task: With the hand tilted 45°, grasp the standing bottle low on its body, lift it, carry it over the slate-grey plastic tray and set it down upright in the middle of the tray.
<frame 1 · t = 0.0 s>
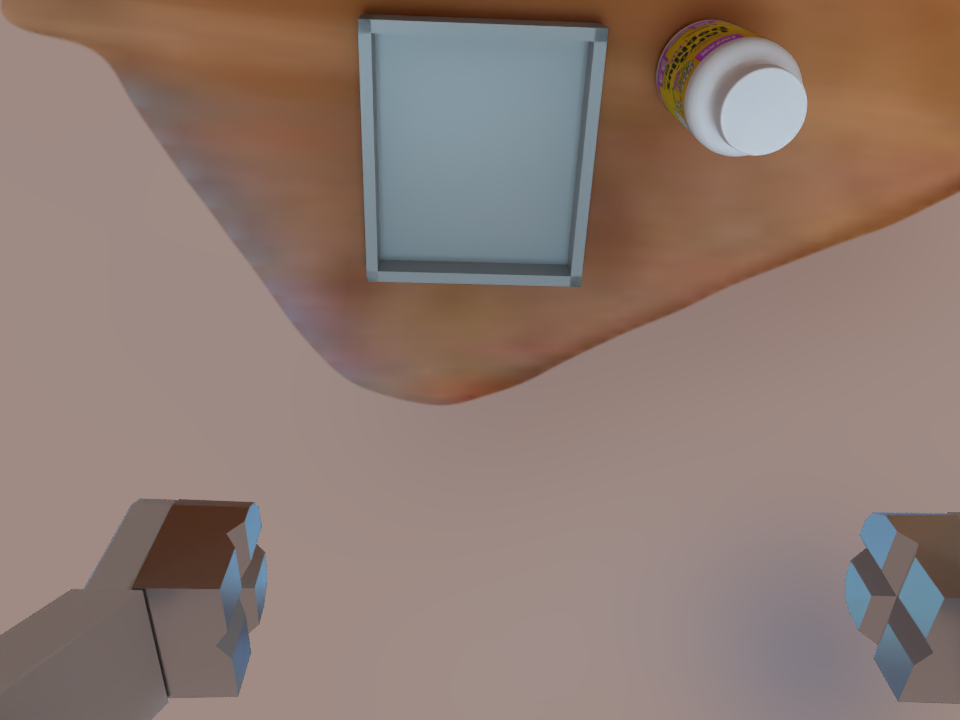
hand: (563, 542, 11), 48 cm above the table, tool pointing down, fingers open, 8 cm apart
supplement bottle: (701, 70, 54), on the table
tray: (477, 152, 56), on the table
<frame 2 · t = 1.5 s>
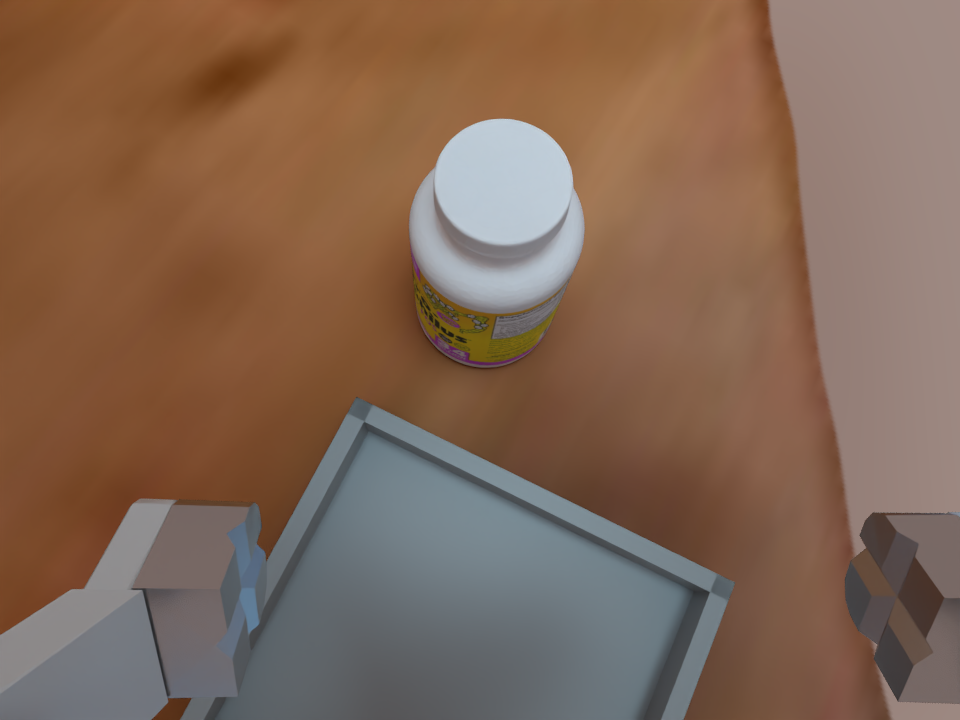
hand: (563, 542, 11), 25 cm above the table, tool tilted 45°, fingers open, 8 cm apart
supplement bottle: (484, 307, 39), on the table
tray: (458, 658, 34), on the table
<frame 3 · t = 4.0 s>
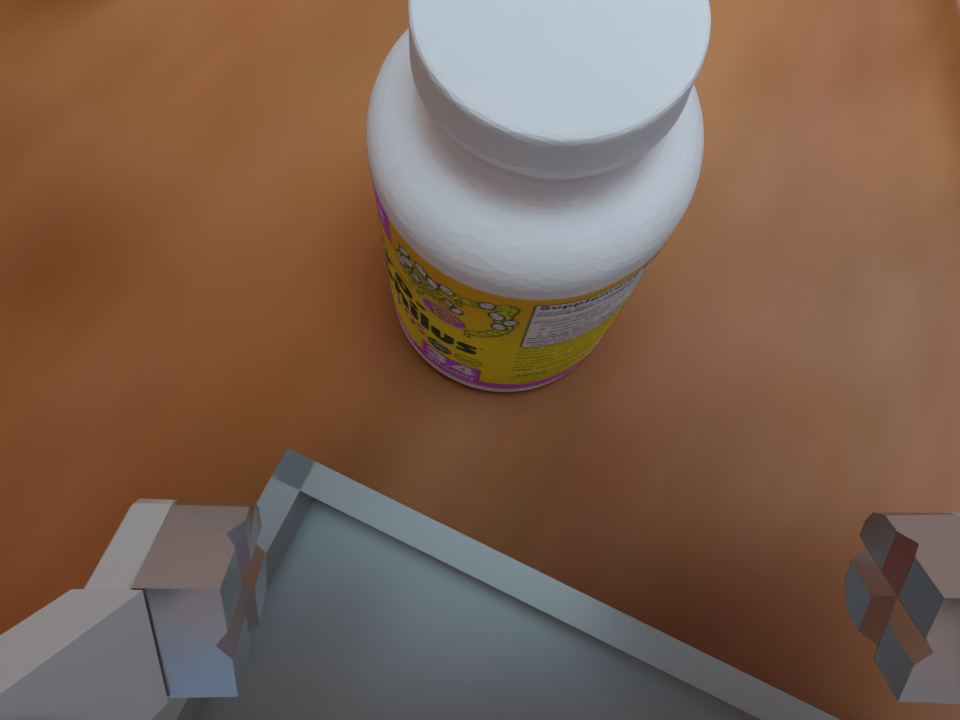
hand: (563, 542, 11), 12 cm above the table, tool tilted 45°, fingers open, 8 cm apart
supplement bottle: (501, 296, 25), on the table
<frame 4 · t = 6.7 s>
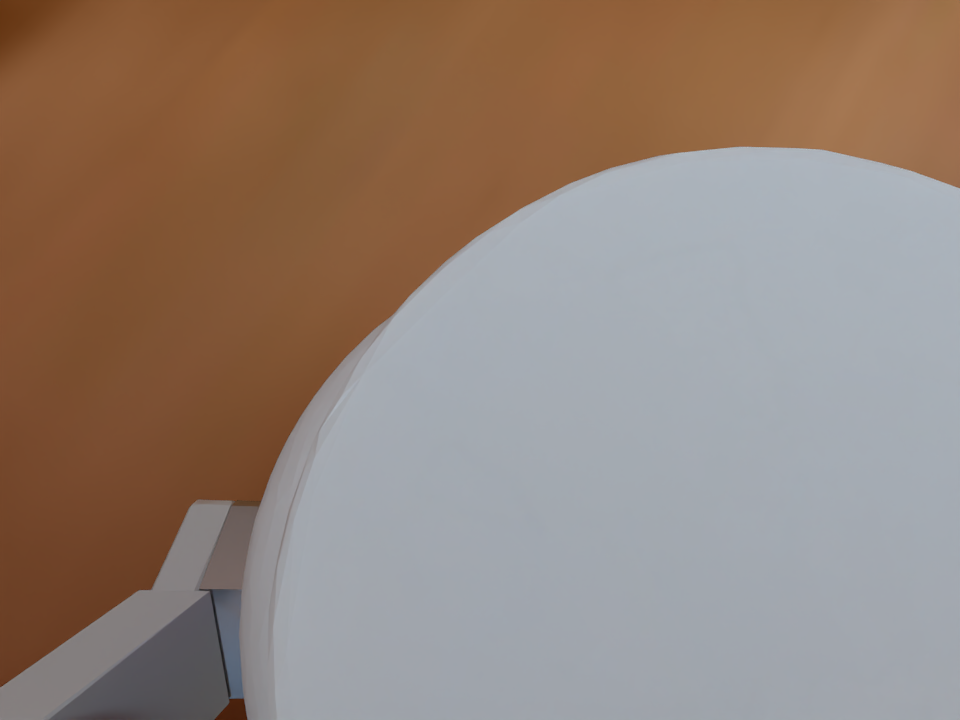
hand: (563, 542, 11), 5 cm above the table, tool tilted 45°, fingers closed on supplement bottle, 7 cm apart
supplement bottle: (524, 588, 16), on the table, touching gripper
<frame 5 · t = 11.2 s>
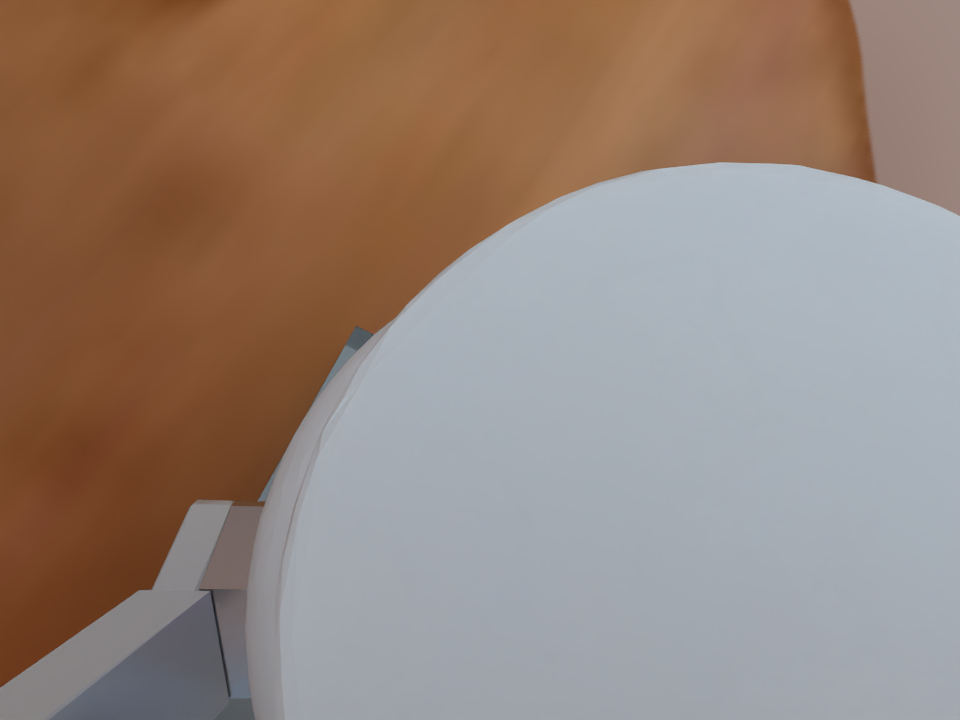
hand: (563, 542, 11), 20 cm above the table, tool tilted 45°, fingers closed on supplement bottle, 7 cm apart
supplement bottle: (524, 587, 16), point 14 cm above the table, touching gripper
tray: (475, 637, 29), on the table
when the fingers open (8 cm above the table, at t = 15.6 s): supplement bottle drops 1 cm, resting on tray.
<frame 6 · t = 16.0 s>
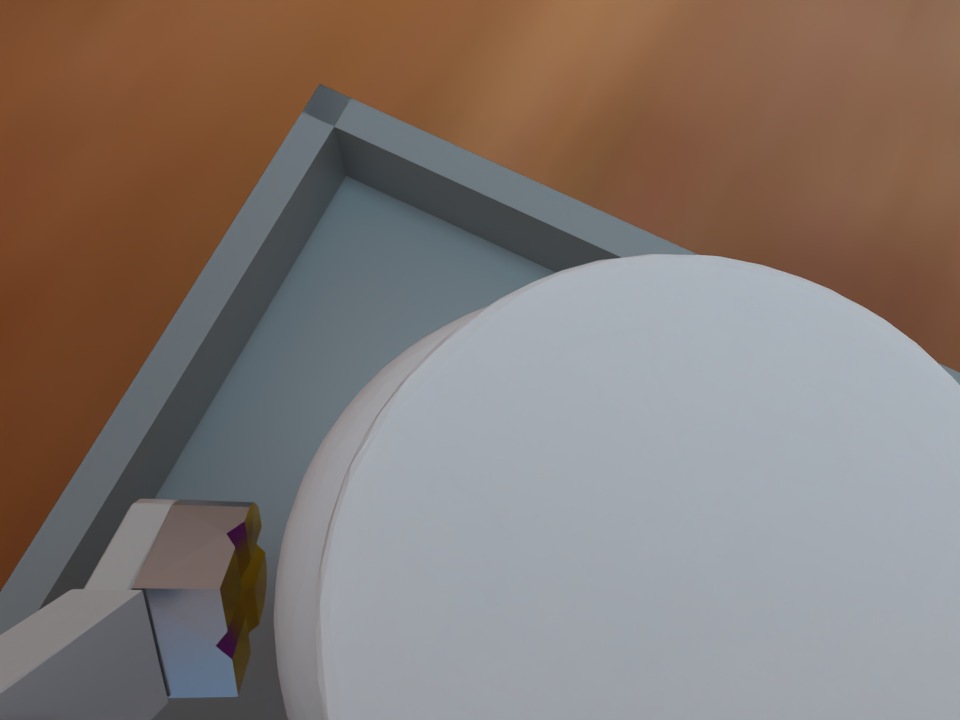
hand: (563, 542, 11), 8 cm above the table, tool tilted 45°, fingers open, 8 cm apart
supplement bottle: (517, 587, 17), point 1 cm above the table, touching tray
tray: (516, 586, 18), on the table
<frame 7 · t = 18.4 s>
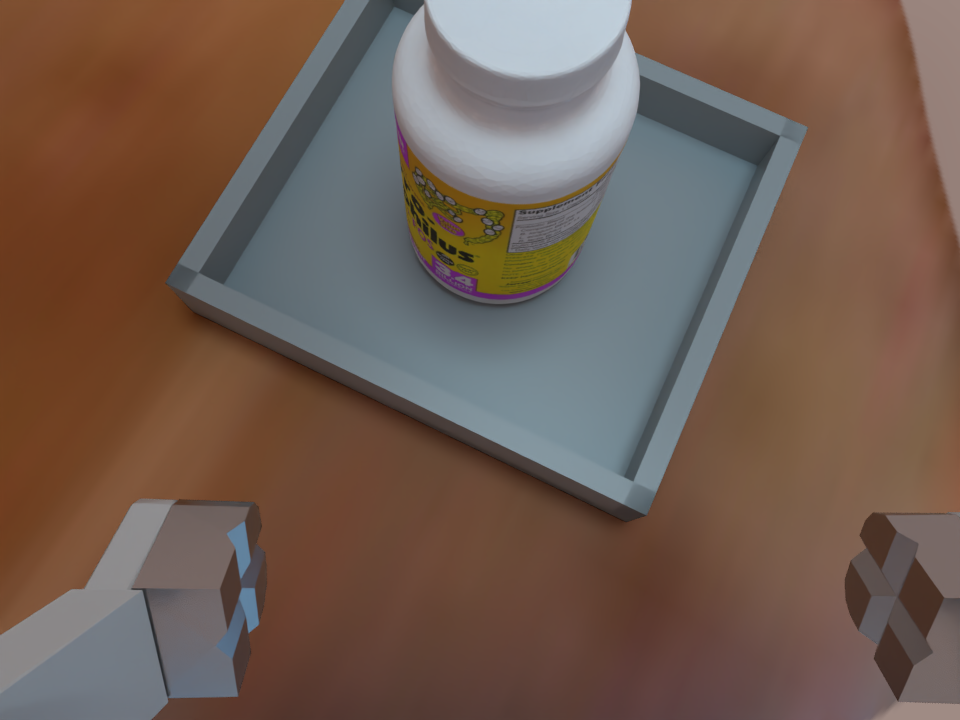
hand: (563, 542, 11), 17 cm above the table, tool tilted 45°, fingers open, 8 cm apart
supplement bottle: (496, 230, 30), point 1 cm above the table, touching tray
tray: (496, 236, 31), on the table
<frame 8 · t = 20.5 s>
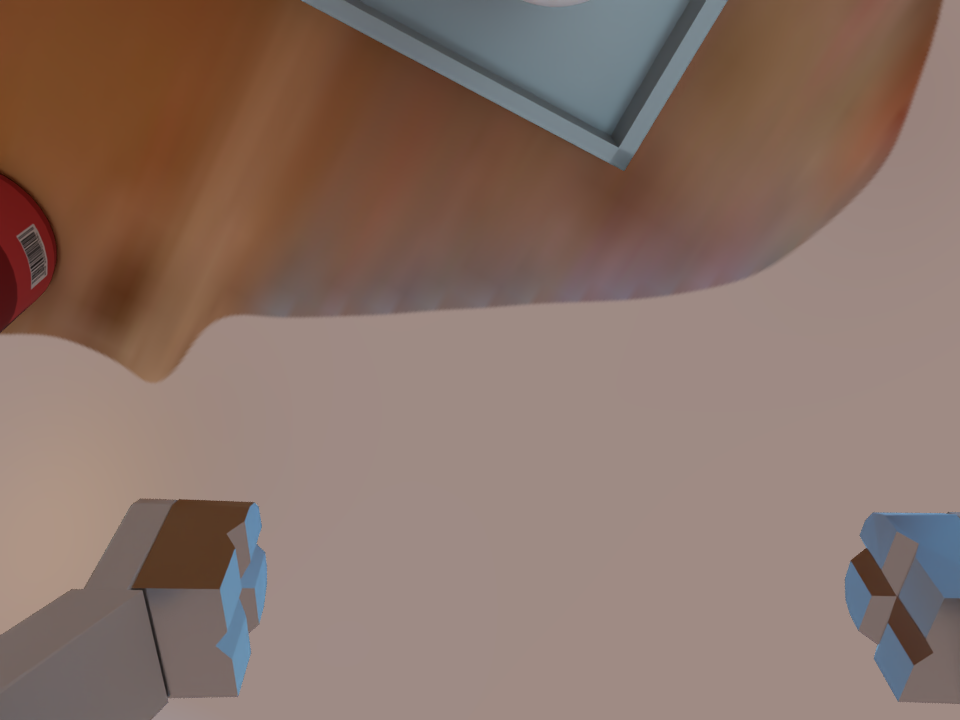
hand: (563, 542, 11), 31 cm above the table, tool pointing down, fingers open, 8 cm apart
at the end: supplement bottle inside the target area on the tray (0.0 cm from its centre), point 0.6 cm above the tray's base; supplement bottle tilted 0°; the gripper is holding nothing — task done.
